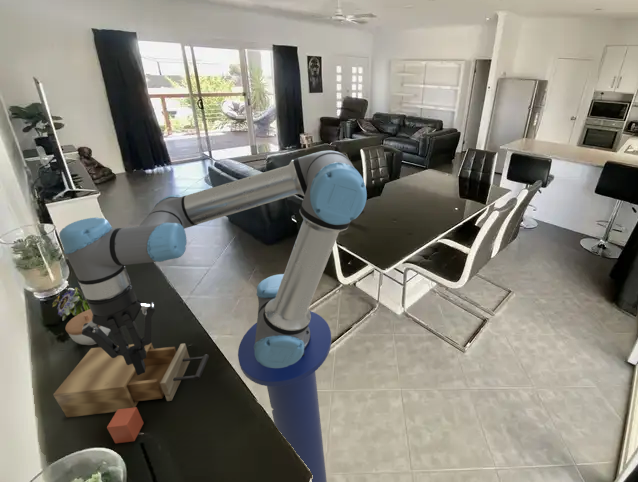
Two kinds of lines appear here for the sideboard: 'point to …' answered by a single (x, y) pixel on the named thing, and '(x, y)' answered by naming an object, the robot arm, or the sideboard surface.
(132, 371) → the cabinet
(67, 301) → the passion flower
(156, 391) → the drawer
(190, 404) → the sideboard surface
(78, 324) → the trinket box
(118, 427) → the block
